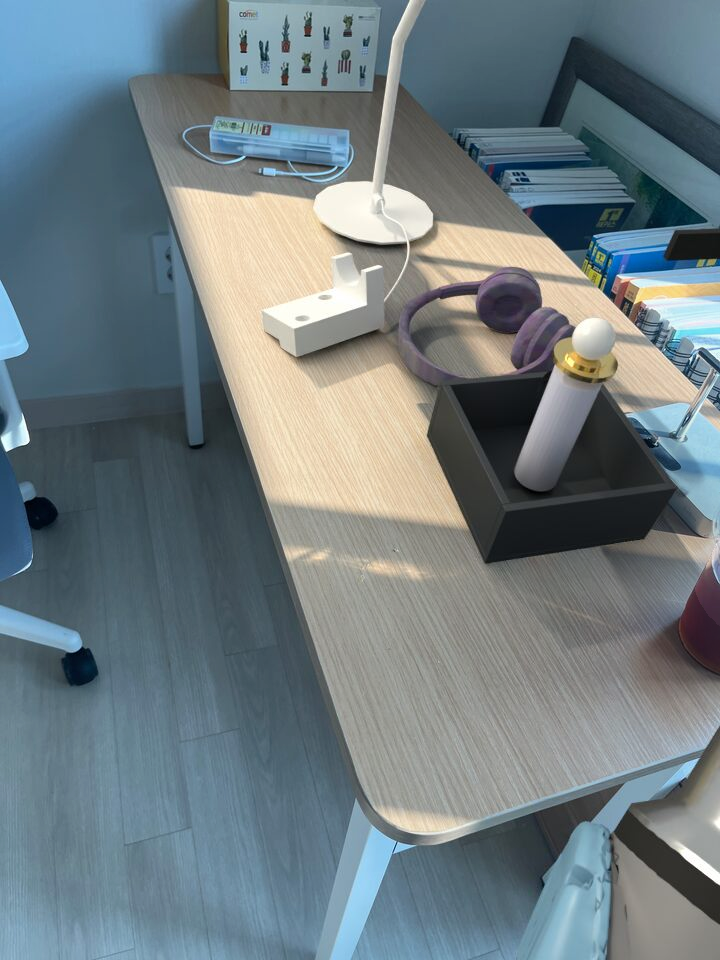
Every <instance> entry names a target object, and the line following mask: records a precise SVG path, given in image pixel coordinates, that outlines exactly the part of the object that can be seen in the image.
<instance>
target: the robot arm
mask: <svg viewBox="0 0 720 960" xmlns="http://www.w3.org/2000/svg"><path fill="white" fill-rule="evenodd" d="M662 257H663V259H665V261H667V262H676V261H700V260H701V261H702V260H703V261H704V260H720V225H719V226H718V228H717V227H715V228H713V227H712V228H695V229H694V228H693V229H690V228H689V229H674V231H673V234H672V236H671V237H670V240H669V243H667V247H666V249H665V250H664V253H663V255H662ZM685 779H686V780H685V781H684V782H683V784H682V785H681V787H680V789H679V791H678V792H677V793H675V794H673V795H671V796H668V797H664V798H659V799H657V798H656V799H651V800H650V799H649V800H644V801H637V802H636V801H635V802H631V803H630V805H629V806H628V808H627V809H626V810H625V812H624V813H623V816H622V817H621V819H620V821H618V824H617V825H616V827H615V828H614V830H613V831H612V832H611V831H610V829H609V828H608V827H606V826H605V825H604V824H602V823H594V822H591V821H588V820H587V821H582V822H580V823H579V824H578V825H577V826H576V827H575V828H574V830H573V831H572V833H571V834H570V837H569V839H568V841H567V843H566V845H565V846H564V848H563V850H562V852H560V853H559V856H558V858H557V860H556V861H555V863H554V865H553V867H552V869H551V871H550V873H549V875H548V877H547V879H546V882H545V883H544V886H543V888H542V890H541V892H540V895H539V897H538V899H537V901H536V904H535V907H534V908H533V911H532V913H531V916H530V918H529V921H528V923H527V925H526V928H525V930H524V932H523V935H522V937H521V940H520V943H519V945H518V948H517V950H516V952H515V953H516V954H515V956H514V959H513V960H720V725H718V727H717V729H716V731H715V732H714V733H713V735H712V737H711V739H710V741H709V742H708V743H707V745H706V747H705V748H704V749H703V752H702V754H701V755H700V757H699V758H698V760H697V761H696V763H695V765H694V766H693V768H692V769H691V771H690V773H689V774H688V776H687V777H686V778H685Z"/></svg>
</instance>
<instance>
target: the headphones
mask: <svg viewBox="0 0 720 960" xmlns="http://www.w3.org/2000/svg"><path fill="white" fill-rule="evenodd" d="M462 296H476V298H475V303H474V304H475V311H476V315H477V317H478V318H479V320H480V322H482V323H483V324H484V325H485V326H486V327H487V328H489V329H491V330H493V331H495V332H499V333H505V334H506V333H507V334H508V333H516V332H517V334H516V336H515V338H514V340H513V343H512V346H511V350H510V362H511V365H512V366H513V367H514V369H515V370H512V371H511V372H507V373H503V374H499V376H504V375H516V374H528V373H540V372H548V371H551V370H553V368H554V366H555V364H554V362H553V359H552V352H553V349H554V347H555V345H556V344H557V342H559V341H560V340H562V339H565V338H570V337H572V335H573V332H574V330H575V328H576V327H577V326H574V325H572V324H570V321H569V318H568V317H567V316H566V315H565V314H562V313H561V312H559V311H558V310H557V309H556V308H553V307H551V306H543V296H542V290H541V286H540V284H539V282H538V281H537V280H536V278H535V277H534V276H533V274H532V273H531V272H529V271H528V270H527V269H524V268H522V267H519V266H506V267H502V268H500V269H498V270H496V271H494V272H493V273H491V274H490V275H488V276H487V277H486V278H485V279H481V280H474V281H463V282H461V281H460V282H455V283H450V284H446V285H442V286H439V287H438V288H435V289H432V290H428V291H427V292H423V293H422V294H419V295H418V296H416V297H414V298H413V299H411V300H410V301H409V302H408V303H407V304H406V305H405V307H404V309H403V310H402V311H401V313H400V314H399V315H400V316H399V318H398V350H399V353H400V356H401V358H402V361H404V363H405V365H406V367H407V368H408V369H409V371H411V372H412V373H413V374H414V375H415V376H417V377H419V379H421V380H423V381H425V382H427V383H429V384H431V385H434V386H437V387H439V385H440V381H444V380H456V379H468V378H470V377H468V376H464V375H458V374H456V373H453V372H449V371H448V370H445V369H443V368H440V367H439V366H438V365H436V364H434V363H432V362H431V361H430V360H429V359H427V357H425V356H424V355H423V354H422V353H421V352H420V350H419V349H418V348H417V347H416V345H415V343H414V342H413V340H412V337H411V334H410V329H409V328H410V324H411V322H412V319H413V317H414V316H415V315H416V313H417V312H418V311H419V310H420V309H422V308H423V307H425V306H426V305H428V304H429V303H431V302H434V301H435V300H437V299H440V300H441V301H442V300H445V299H450V298H455V297H456V298H457V297H462Z"/></svg>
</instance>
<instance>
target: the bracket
mask: <svg viewBox="0 0 720 960" xmlns="http://www.w3.org/2000/svg"><path fill="white" fill-rule="evenodd" d="M330 264H331V267H330V268H331V281H332V288H329V289H327V290H322V291H321V292H320V291H319V292H317V293H314V294H310V295H307V296H304V297H300V298H297V299H294V300H291V301H287V302H284V303H281V304H278V305H275V306H271V307H268V308H264V309H261V318H262V326H263V331H265V332H266V333H268V334H269V335H271V336H272V337H274V338H276V340H278V341H279V347H280V348H281V349H282V350H283V351H285V352H287V353H289V354H290V355H292V356H294V357H295V358H299V357H302V356H304V355H308V354H310V353H312V352H316V351H318V350H321V349H324V348H327V347H330V346H334V345H336V344H338V343H341V342H344V341H347V340H350V339H353V338H356V337H358V336H362V335H365V334H368V333H371V332H373V331H376V330H379V329H382V328H384V327H385V303H384V299H385V283H384V281H385V279H384V278H385V277H384V266H382V265H380V264H376V265H374V266H370V267H367V268H363V269H361V270H360V273H359V272H358V270H357V268H356V265H355V262H354V256H353V253H351V252H349V251H348V252H344V253H340V254H337V255H334V256H331V257H330Z"/></svg>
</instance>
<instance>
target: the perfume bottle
mask: <svg viewBox="0 0 720 960" xmlns="http://www.w3.org/2000/svg"><path fill="white" fill-rule="evenodd" d="M575 327H576V328H575V330H574V332H573V335H572V337H570V338H565V339H562V340H560V341H559V342H557V344H556V345H555V347H554V349H553V352H552V359H553V362H554V364H555V366H554V368H553V370H551V371H548V372H547V373H546V374H545V375H544V376H543V378H542V381H541V383H540V386H539V389H538V391H539V390H540V389H541V388H542V387H544V386H546V385H547V386H546V389H545V391H544V394H543V396H542V399H541V401H540V404H539V407H538V409H537V412H536V414H535V417H534V419H533V422H532V424H531V427H530V430H529V432H528V435H527V437H526V440H525V442H524V445H523V447H522V450H521V453H520V455H519V458H518V460H517V463H516V465H515V468H514V474H515V477H516V478H517V480H518V481H519V482H520V483H521V484H522V485H523V486H525V487H527V488H529V489H531V490H535V491H548V490H550V489H552V488H554V487H555V485H556V484H557V482H558V479H559V477H560V475H561V473H562V471H563V469H564V466H565V464H566V462H567V460H568V458H569V456H570V453H571V451H572V449H573V447H574V445H575V443H576V440H577V438H578V436H579V434H580V432H581V430H582V427H583V425H584V423H585V421H586V419H587V416H588V414H589V412H590V410H591V408H592V406H593V403H594V401H595V399H596V397H597V395H598V393H599V390H600V388H601V386H602V384H604V383H606V382H608V381H610V380H612V378H614V376H615V375H616V373H617V370H618V368H619V363H618V359H617V357H616V355H615V353H613V352H612V351H613V348H614V347H615V344H616V341H617V340H616V339H617V335H616V330H615V329H614V326H613V325H612V324H611V323H610V321H608V320H606V319H605V318H603V317H599V316H595V317H593V316H592V317H588V318H586V319H583V320H582V321H581V322H579V323H578V324H577V325H576V326H575ZM548 377H549V378H548ZM545 379H546V380H545ZM548 379H549V380H548ZM543 381H544V383H543ZM546 383H547V384H546ZM544 384H545V385H544ZM541 385H542V386H541ZM538 391H537V392H538ZM536 396H537V395H536Z"/></svg>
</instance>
